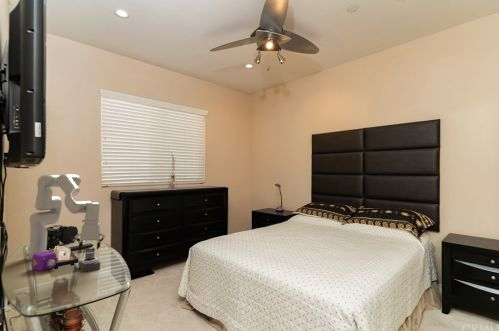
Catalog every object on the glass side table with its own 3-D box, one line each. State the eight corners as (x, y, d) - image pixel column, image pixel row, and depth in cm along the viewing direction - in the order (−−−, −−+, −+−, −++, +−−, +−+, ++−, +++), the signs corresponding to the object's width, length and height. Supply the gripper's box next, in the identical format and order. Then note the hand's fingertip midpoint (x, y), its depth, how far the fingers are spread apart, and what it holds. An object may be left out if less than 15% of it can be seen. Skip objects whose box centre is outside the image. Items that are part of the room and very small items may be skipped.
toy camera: (46, 273, 158) (47, 256, 158) (27, 270, 160) (28, 254, 161) (62, 267, 168) (63, 251, 169) (44, 264, 171) (45, 249, 171)
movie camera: (49, 251, 198) (51, 227, 199) (32, 249, 202) (33, 226, 204) (85, 243, 228) (86, 222, 229) (69, 242, 232) (70, 221, 234)
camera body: (78, 267, 169) (78, 258, 169) (94, 264, 176) (94, 255, 176) (83, 272, 161) (84, 262, 161) (100, 268, 167) (100, 259, 168)
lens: (83, 263, 165) (84, 249, 166) (86, 260, 170) (86, 247, 171) (92, 262, 167) (93, 249, 167) (95, 259, 172) (96, 247, 172)
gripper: (74, 222, 164) (71, 250, 163) (105, 223, 168) (103, 250, 168) (78, 220, 171) (76, 247, 170) (107, 220, 176) (105, 246, 175)
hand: (89, 248), depth 169 cm, fingers open, 9 cm apart
